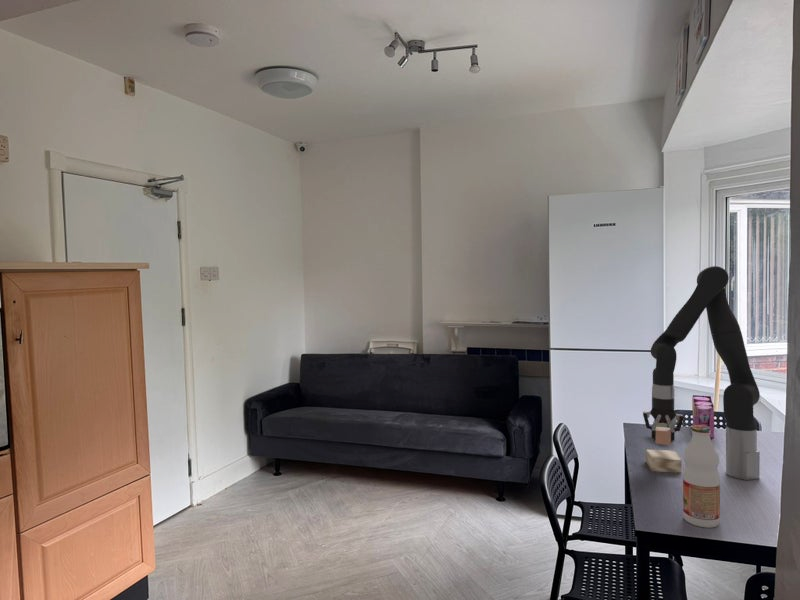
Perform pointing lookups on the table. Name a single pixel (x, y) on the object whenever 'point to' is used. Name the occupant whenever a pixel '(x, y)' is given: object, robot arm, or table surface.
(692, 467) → the fruit juice
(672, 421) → the food container
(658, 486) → the table surface
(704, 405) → the gum box
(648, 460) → the birch block
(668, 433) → the terracotta cube
